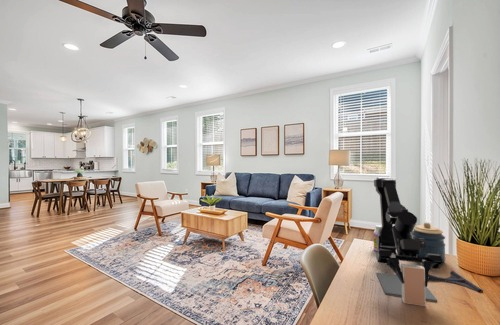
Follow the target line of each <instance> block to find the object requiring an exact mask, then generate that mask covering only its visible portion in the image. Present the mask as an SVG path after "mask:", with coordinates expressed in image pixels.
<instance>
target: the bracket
mask: <svg viewBox="0 0 500 325" xmlns="http://www.w3.org/2000/svg"><path fill="white" fill-rule="evenodd" d="M449 275H450V276H448V277H442V276H436V275H434V274H430V273H429V274H428V281H436V282H447V283H452V284H455V285H459V286H462V287H465V288H467V289H470V290H472V291H474V292H477V293H479V292H481V293H484V290H483V289H482V288H480V287H479V286H478V285H476V284H474V283H473V282H471V281H469V280H468V279H466V278H465V277H463V276H462V275H460V274H458V273H457V272H455V271H453V270H451V271H450V272H449Z"/></svg>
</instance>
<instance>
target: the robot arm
mask: <svg viewBox="0 0 500 325" xmlns="http://www.w3.org/2000/svg"><path fill="white" fill-rule="evenodd" d="M396 180H397V179H393V178H392V177H376V179H374V180H373V186H374V187H375V192H377V194H378V195H379V201H380V202H379V204H380V218H381V225H382V227H381V228H380V230H379V231H378V234H379V235H377V239H376V245H377V247H378V248H379V250H378V251H377V253H376V260H377V261H376V262H377V263H379V264H386V266H387V267H390V269H391V270H392V271H393V273H395V274H394V275H397V276H398V278H399V279H400V281H401V283H402V284H404V279H403V275H402V272H401V265H400V261H401V262H411V263H419V264H421V265H420V266H423V267H424V268H425V287H427V288H428V284H429V283H428V282H429V280H428V278H429V277H428V274H430V271H431V270H432V269H434V270H439V269H440V268H441V267H442V266H443V265H444V264H443V263H444V260H443V257H441V256H440V255H439V254H429V253H427V254H426V256H425V257H420V256H417V254H419V250H420V251H421V249H426V248H427V245H426V241H425V239H424V238H418V239H417V240H414V239H412V234H411V232H412V231H414V230H413V229H414V227H416V226H417V222H418V218H417V216H416V215H415V214H414V213H412V212H410V211H409V209H408V208H407V207H405V205H403V204H401V201H400V197H399V194H398V191H397V181H396Z"/></svg>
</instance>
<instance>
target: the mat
mask: <svg viewBox="0 0 500 325" xmlns="http://www.w3.org/2000/svg"><path fill="white" fill-rule="evenodd" d="M375 274H376V276H377V279H378V281H379V283H380V285H381V287H382V289H383V292H384V294H385V295H390V296H393V297H401V298H402V283H401V281H400V279H399V278H398V276H397V275H396V274H392V273H384V272H376V273H375ZM425 300H426V302H427V301H428V302H429V301H430V302H434V303H438V299H437V298H436V297H435V295H434V294H433V293H432V292H431V290H430V289H429V288H428V286H427V287H425Z"/></svg>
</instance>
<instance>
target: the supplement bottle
mask: <svg viewBox="0 0 500 325" xmlns="http://www.w3.org/2000/svg"><path fill="white" fill-rule="evenodd" d="M381 227H382V224H375V229H374V231H373V250H374V251H376V252H378V250H379V248H378V247H377V245H376V239H377V235H379V234H378V231H379V230H380V228H381Z"/></svg>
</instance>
